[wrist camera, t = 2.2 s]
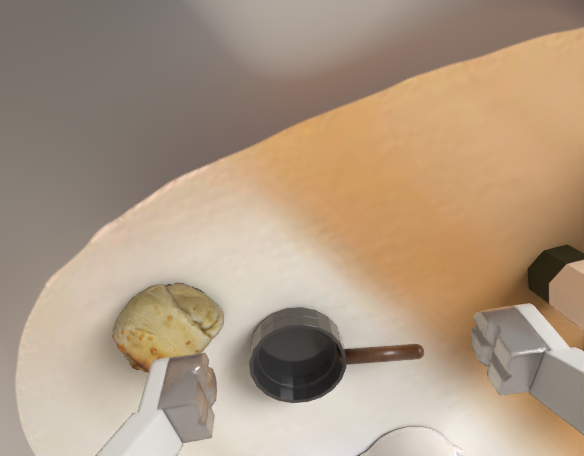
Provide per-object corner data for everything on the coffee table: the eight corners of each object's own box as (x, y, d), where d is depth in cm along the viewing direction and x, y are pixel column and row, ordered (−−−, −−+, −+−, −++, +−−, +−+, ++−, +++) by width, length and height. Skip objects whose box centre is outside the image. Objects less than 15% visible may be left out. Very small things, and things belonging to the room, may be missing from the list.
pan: (340, 375, 56) (346, 398, 52) (255, 382, 56) (254, 406, 52) (340, 302, 52) (346, 321, 48) (247, 309, 52) (245, 328, 47)
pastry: (120, 350, 53) (95, 393, 45) (121, 272, 49) (93, 306, 41) (219, 359, 54) (211, 403, 47) (228, 285, 50) (221, 320, 43)
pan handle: (421, 340, 52) (426, 349, 50) (420, 352, 53) (425, 361, 51) (336, 346, 51) (338, 356, 50) (336, 358, 52) (338, 368, 50)
